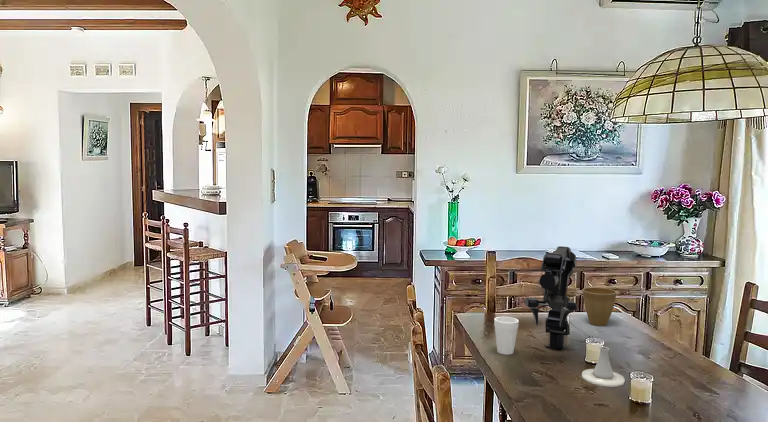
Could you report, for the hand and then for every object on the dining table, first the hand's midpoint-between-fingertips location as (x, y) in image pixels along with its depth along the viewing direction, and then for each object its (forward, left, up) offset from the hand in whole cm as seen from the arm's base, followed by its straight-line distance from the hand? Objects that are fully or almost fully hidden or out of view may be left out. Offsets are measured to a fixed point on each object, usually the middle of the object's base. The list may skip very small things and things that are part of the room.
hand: (548, 326), depth 218 cm
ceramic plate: (+5, +24, -13) cm, 27 cm away
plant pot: (-62, -5, -13) cm, 63 cm away
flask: (+5, +24, -12) cm, 27 cm away
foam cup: (+5, -15, -13) cm, 21 cm away
